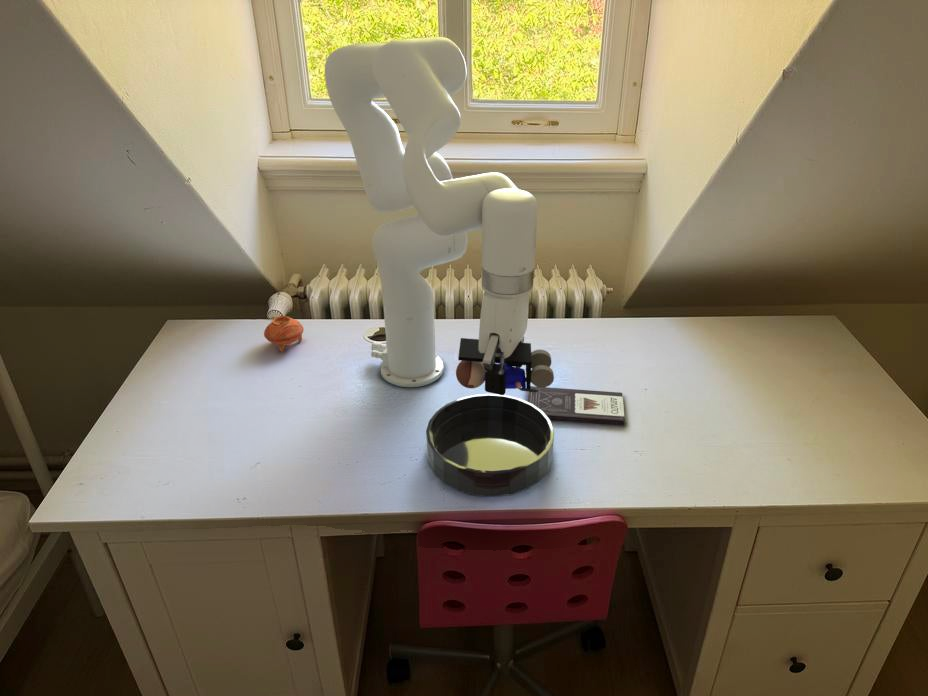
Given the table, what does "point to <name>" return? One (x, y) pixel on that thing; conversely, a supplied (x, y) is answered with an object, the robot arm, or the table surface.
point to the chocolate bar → (579, 405)
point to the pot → (283, 331)
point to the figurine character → (474, 374)
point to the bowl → (489, 444)
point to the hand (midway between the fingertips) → (504, 377)
